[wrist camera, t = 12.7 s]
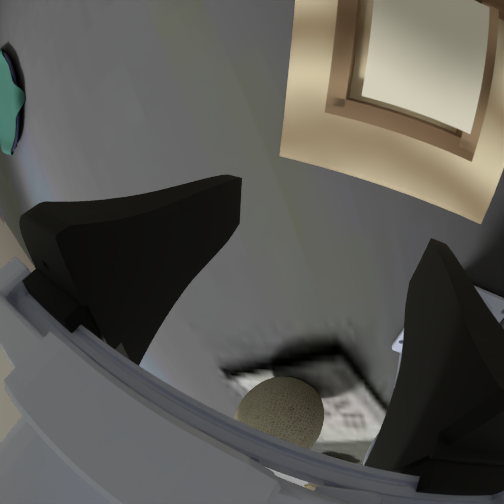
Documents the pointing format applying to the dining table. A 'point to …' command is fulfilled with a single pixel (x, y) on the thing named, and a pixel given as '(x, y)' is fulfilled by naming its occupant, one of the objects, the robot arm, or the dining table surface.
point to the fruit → (284, 410)
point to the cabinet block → (428, 57)
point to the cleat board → (388, 114)
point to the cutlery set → (9, 105)
